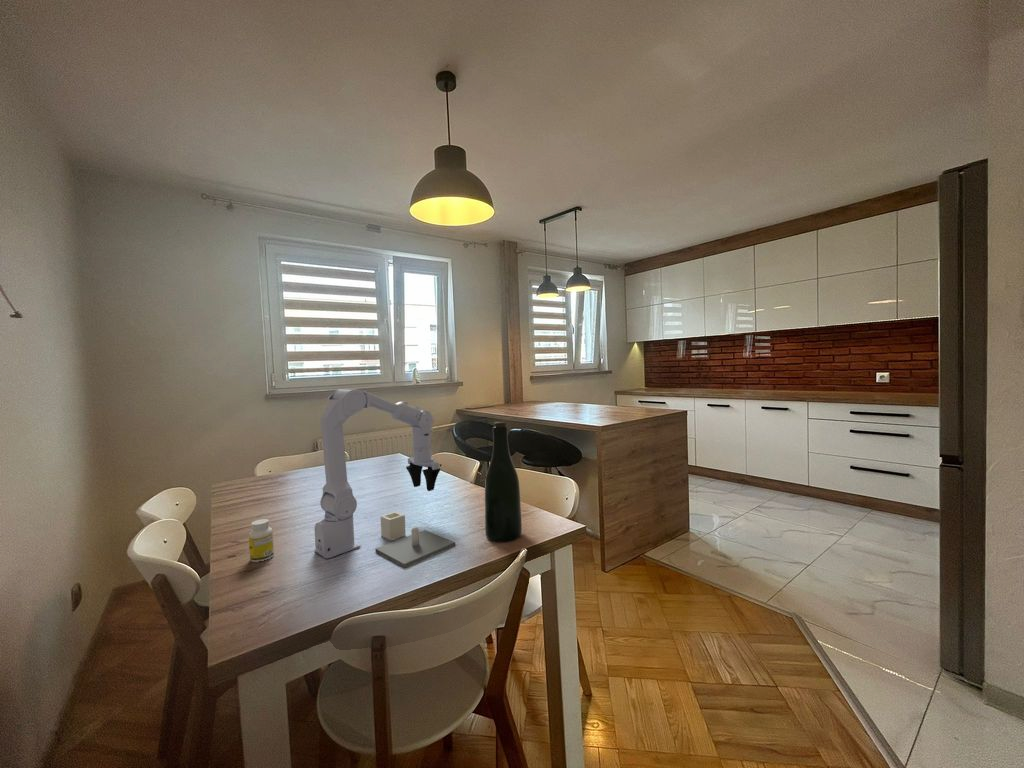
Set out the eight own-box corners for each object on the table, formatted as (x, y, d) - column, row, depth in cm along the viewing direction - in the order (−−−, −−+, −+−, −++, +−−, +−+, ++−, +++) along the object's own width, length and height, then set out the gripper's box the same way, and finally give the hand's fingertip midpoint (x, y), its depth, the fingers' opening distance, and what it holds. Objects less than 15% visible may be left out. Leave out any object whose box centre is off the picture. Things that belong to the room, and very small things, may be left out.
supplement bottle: (252, 555, 108) (251, 519, 108) (275, 552, 110) (274, 516, 110) (247, 564, 103) (245, 526, 103) (271, 560, 105) (269, 523, 105)
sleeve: (390, 540, 115) (389, 519, 115) (381, 536, 118) (380, 516, 118) (405, 535, 118) (404, 515, 118) (396, 530, 122) (395, 511, 122)
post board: (404, 567, 98) (403, 543, 98) (375, 552, 108) (374, 530, 107) (455, 545, 110) (454, 524, 110) (425, 533, 119) (424, 513, 119)
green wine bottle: (528, 538, 114) (525, 422, 113) (495, 546, 108) (491, 425, 107) (510, 526, 123) (507, 418, 122) (479, 534, 118) (475, 421, 117)
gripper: (445, 447, 129) (447, 489, 129) (419, 443, 139) (421, 481, 139) (427, 450, 123) (429, 494, 124) (401, 446, 133) (403, 486, 134)
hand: (423, 488), depth 131 cm, fingers open, 7 cm apart
